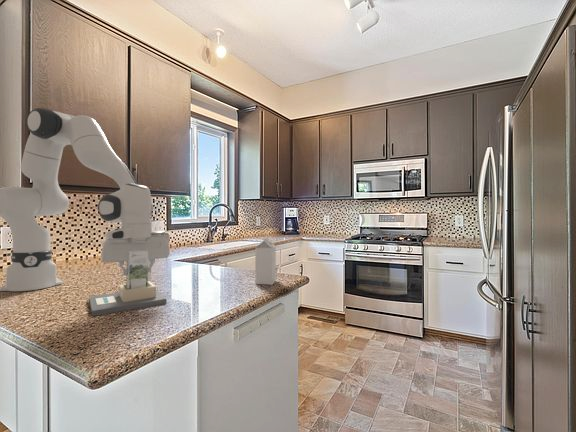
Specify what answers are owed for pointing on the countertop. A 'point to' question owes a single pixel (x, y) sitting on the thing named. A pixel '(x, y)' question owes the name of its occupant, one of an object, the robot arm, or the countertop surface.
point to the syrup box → (137, 269)
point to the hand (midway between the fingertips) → (136, 273)
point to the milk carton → (265, 262)
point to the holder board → (126, 300)
